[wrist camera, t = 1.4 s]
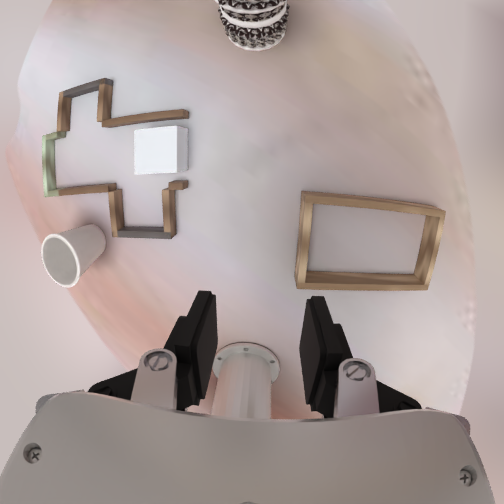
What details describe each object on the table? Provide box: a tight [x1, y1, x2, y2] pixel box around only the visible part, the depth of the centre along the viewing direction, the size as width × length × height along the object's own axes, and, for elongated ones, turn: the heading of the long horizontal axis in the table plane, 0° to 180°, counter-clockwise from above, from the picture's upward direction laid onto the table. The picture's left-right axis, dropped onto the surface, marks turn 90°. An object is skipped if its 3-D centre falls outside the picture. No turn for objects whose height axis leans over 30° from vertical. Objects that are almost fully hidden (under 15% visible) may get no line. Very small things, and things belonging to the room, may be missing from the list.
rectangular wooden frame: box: [294, 191, 446, 291], centre depth 36 cm, size 13×22×4 cm, turn 88°
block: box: [134, 126, 188, 175], centre depth 33 cm, size 6×6×5 cm
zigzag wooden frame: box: [42, 78, 189, 239], centre depth 35 cm, size 25×27×2 cm
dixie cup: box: [41, 224, 106, 287], centre depth 36 cm, size 8×8×10 cm
